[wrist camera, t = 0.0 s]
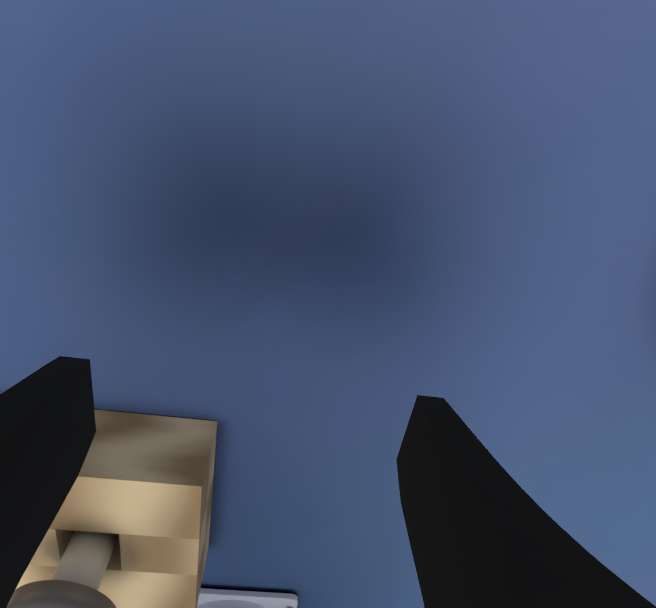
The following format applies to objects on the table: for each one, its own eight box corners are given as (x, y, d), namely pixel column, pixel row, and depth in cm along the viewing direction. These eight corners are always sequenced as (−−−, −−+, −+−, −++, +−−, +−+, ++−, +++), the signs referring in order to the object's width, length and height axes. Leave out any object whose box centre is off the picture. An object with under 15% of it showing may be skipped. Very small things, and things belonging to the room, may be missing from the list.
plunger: (143, 567, 24) (108, 681, 20) (52, 562, 24) (-4, 676, 20) (141, 510, 22) (101, 623, 18) (41, 503, 22) (-24, 617, 18)
